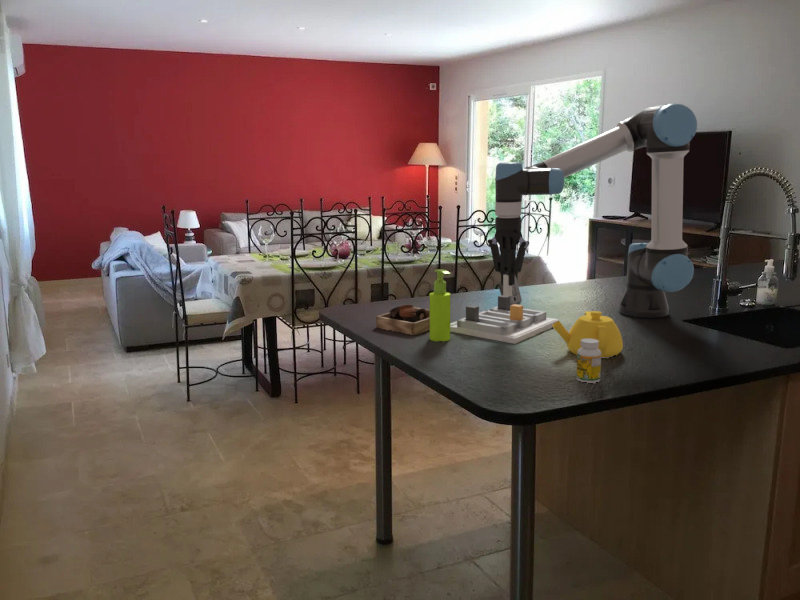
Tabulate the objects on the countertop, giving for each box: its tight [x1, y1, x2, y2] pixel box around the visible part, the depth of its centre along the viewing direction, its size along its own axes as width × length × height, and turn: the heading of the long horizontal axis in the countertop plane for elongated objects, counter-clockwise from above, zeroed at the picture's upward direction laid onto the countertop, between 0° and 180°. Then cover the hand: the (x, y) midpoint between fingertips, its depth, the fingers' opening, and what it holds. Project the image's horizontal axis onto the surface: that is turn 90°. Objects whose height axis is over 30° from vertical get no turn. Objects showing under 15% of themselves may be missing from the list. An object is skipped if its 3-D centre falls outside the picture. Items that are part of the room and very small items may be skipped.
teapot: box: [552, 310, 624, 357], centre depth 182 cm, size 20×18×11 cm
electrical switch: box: [497, 275, 523, 305], centre depth 240 cm, size 9×5×9 cm, turn 152°
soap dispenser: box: [429, 268, 451, 342], centre depth 194 cm, size 6×7×20 cm
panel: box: [450, 305, 561, 345], centre depth 208 cm, size 24×27×4 cm
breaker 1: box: [465, 304, 480, 322], centre depth 204 cm, size 3×3×6 cm
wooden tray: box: [375, 306, 430, 336], centre depth 211 cm, size 15×17×4 cm
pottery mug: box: [389, 304, 429, 323], centre depth 209 cm, size 12×10×8 cm
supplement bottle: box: [576, 338, 602, 384], centre depth 160 cm, size 5×5×10 cm
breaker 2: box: [497, 294, 510, 311], centre depth 218 cm, size 3×3×6 cm
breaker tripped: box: [510, 303, 524, 321], centre depth 205 cm, size 3×3×6 cm
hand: (507, 295), depth 206 cm, fingers closed
